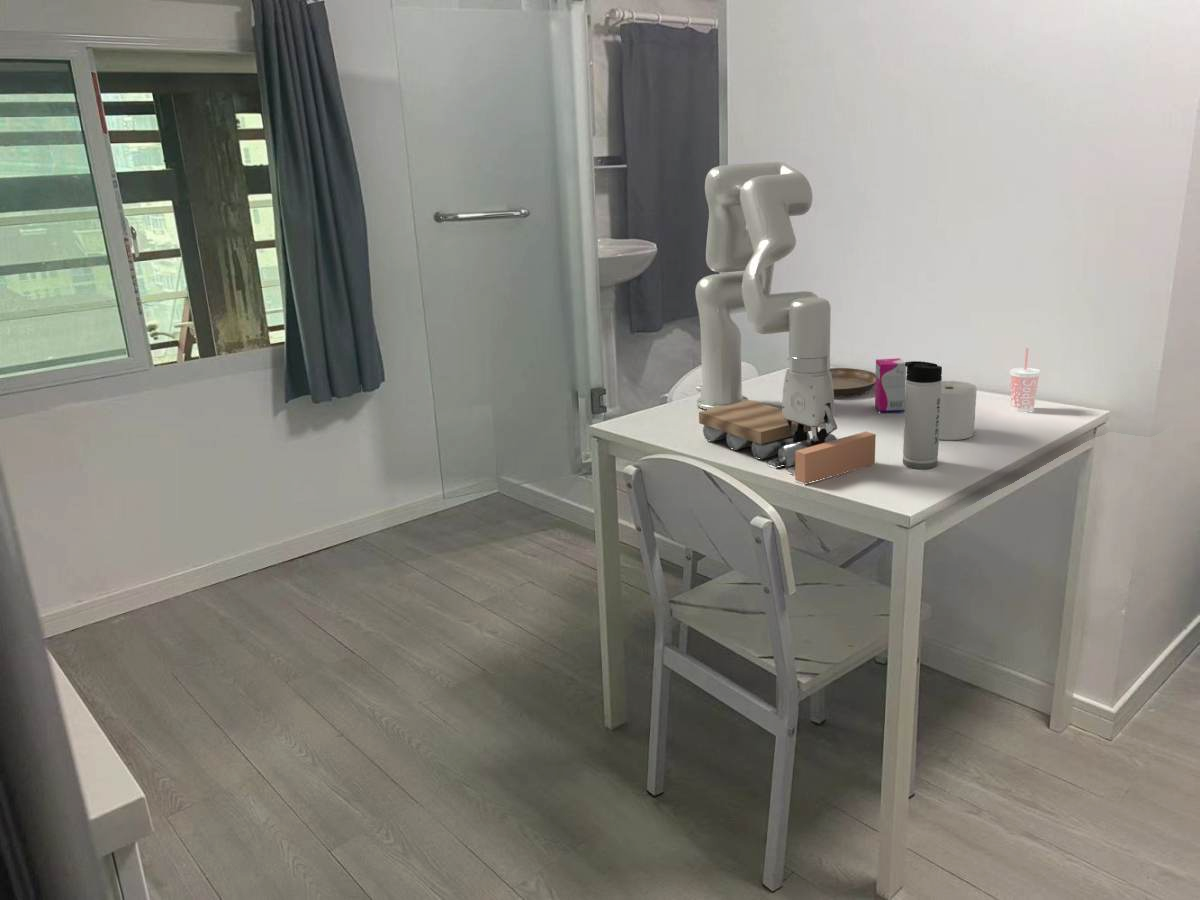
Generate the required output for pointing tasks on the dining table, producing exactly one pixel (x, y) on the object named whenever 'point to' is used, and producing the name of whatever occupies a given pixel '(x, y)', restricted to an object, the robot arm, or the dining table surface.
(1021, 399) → the beverage cup
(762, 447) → the cylinder
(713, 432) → the rear roller
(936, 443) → the travel mug
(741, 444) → the middle roller
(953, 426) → the toilet tissue
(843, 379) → the plant saucer
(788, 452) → the roller
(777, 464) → the cradle
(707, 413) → the slab
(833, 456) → the bar
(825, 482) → the dining table surface
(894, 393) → the supplement box
